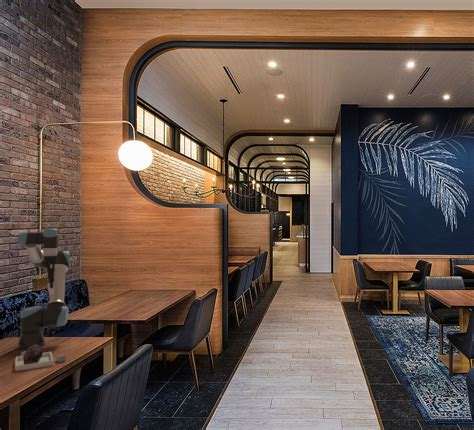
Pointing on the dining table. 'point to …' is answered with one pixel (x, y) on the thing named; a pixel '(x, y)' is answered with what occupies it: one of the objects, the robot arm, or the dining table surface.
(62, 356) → the squat grey cube
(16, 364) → the dish
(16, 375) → the dining table surface
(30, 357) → the rock
